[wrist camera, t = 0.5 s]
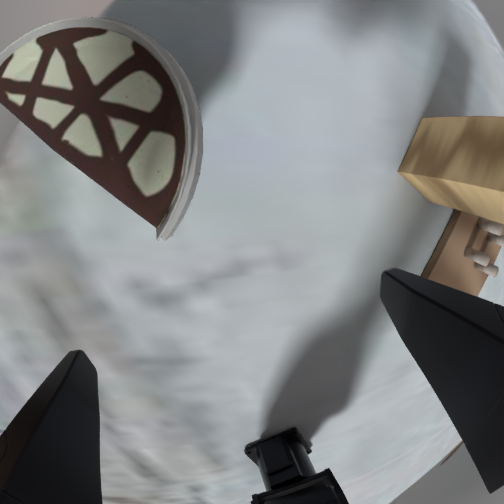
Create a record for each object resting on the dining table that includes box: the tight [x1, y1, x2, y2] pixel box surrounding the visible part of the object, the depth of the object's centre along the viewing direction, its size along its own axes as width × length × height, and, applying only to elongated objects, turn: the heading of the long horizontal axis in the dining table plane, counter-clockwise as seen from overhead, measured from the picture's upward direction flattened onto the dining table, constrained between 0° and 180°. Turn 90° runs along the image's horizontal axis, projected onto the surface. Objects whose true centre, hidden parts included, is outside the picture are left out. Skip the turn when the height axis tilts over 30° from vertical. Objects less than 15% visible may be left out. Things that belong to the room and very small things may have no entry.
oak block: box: [398, 116, 504, 224], centre depth 18 cm, size 6×5×12 cm
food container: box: [0, 17, 203, 241], centre depth 13 cm, size 12×6×10 cm, turn 49°
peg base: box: [421, 209, 504, 296], centre depth 26 cm, size 14×11×4 cm
